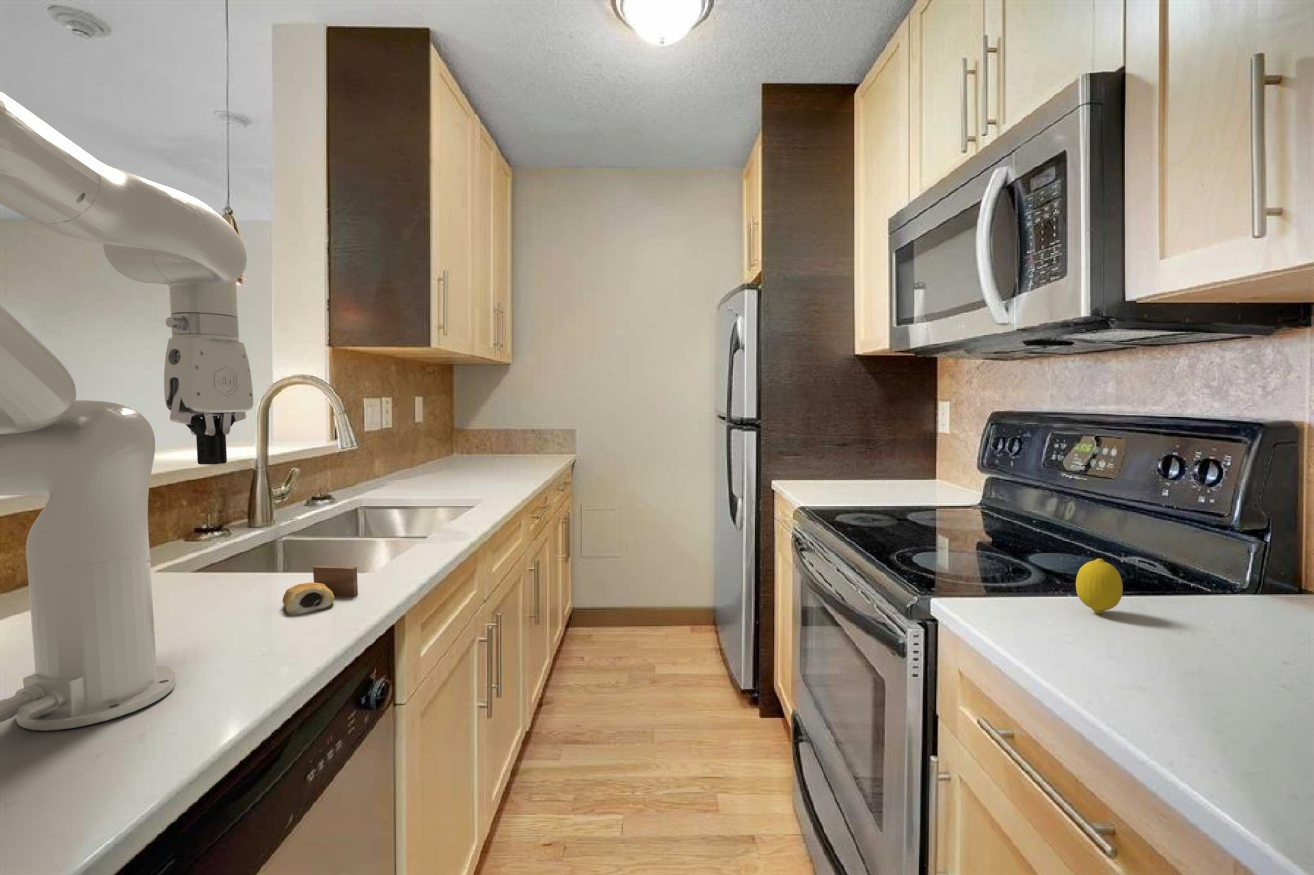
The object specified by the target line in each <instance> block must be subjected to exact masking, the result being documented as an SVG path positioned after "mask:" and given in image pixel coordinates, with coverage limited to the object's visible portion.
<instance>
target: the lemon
mask: <svg viewBox="0 0 1314 875" xmlns="http://www.w3.org/2000/svg"><path fill="white" fill-rule="evenodd" d="M1123 587H1124V586H1123V580H1122V577H1121V575H1120V573H1119V571H1118V570H1117V568H1115V566H1113V565H1112V564H1111V563H1109V562H1106V561H1105V560H1104V559H1103V558H1096V559H1095V560H1091V561H1088V562H1086V563H1085V564H1083V565H1082V566H1081V567H1079V570H1078V572H1077V575H1076V579H1075V590H1076V594H1077V597H1078V598H1079V600H1080V602H1082V603H1083V604H1084V605H1085V606H1086V607H1088V608H1090V609H1091V610H1092V611H1093V612H1094V614H1099V615H1100V614H1102V613H1103V612H1105V611H1108V610H1111V609H1113V608H1115V607H1117V605H1118V604H1119V603H1120V601H1121V599H1122V595H1123V589H1124V588H1123Z"/></svg>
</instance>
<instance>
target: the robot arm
mask: <svg viewBox="0 0 1314 875" xmlns="http://www.w3.org/2000/svg"><path fill="white" fill-rule="evenodd" d="M0 205H1V206H4V207H6V208H8V209H9V210H11V211H13V212H15V213H17V214H19V215H21V216H22V217H24V218H26V219H28V220H30V221H32V222H33V223H35V224H37V225H40V226H41V227H43V228H45V229H46V230H49V231H50V232H53V233H56V234H59V235H61V236H64V237H65V236H66V237H68V238H73V239H77V240H83V241H87V242H93V243H97V244H102V248H103V252H104V253H103V254H104V256H105V258H106V259H107V261H108V263H109V264H110V265H111V267H112V268H113V269H114V270H116V271H117V272H118V273H119V274H121V275H122V276H124V277H125V278H127V279H130V280H133V281H135V282H140V283H142V284H143V283H146V284H156V285H157V284H158V285H167V286H168V288H169V304H170V305H169V306H170V307H169V308H170V317H167V318H166V320H165V325H166V326H167V327H168V328H171V337H170V338H168V339H167V346H166V351H165V360H164V368H163V369H164V372H163V374H164V375H163V389H164V391H163V392H164V394H163V395H164V400H165V401H164V402H165V405H166V408H167V409H168V410H169V411H170V415H169V419H170V421H171V422H174V423H178V424H183V425H185V426H186V427H187V428H188V429H189V430H190V434H192V436H195V439H196V454H197V455H196V456H197V458H196V459H197V463H198V465H199V466H200V465H204V466H205V465H207V466H208V465H209V466H210V465H212V466H214V465H216V466H217V465H224V464H225V465H226V464H227V462H228V458H227V457H228V456H227V436H228V435H229V434H230V433H231V427H232V426H233V425H234V423H237V422H240V421H242V420H245V419H246V418H247V414H246V412H248V411H251V410H252V409H253V407H254V392H253V391H254V390H253V389H254V388H253V379H252V372H251V366H250V362H249V358H248V353H247V349H246V347H245V344H244V342H242V341H241V342H240V334H239V333H240V332H239V317H238V316H239V314H238V313H239V312H238V292H237V291H238V290H237V280H238V279H239V278H241V276H242V275H243V274H244V272H245V270H246V267H247V262H248V259H247V258H248V257H247V251H246V247H245V244H244V243H243V240H242V238H241V237H240V235H239V233H238V232H237V231H236V230H235V228H234V227H233V226H232V225H231V224H230V223H229V222H228V221H227V219H225V218H224V217H223V216H222V215H220V214H218V213H217V211H215V210H213V208H212V207H211V206H209V205H207V204H205V203H204V202H202V201H201V200H199V199H197V198H195V197H193V196H190V195H189V194H187V193H184V192H181V191H180V190H177V189H174V188H171V187H169V186H166V185H163V184H160V183H157V182H154V181H153V180H149V179H147V178H144V177H141V176H139V175H137V174H134V173H131V172H128V171H126V170H123V169H120V168H116V167H114V166H110V165H107V164H105V163H103V162H101V161H99V160H97V158H95V157H94V156H93V155H91V154H90V153H88V152H86V150H84V149H83V148H81V147H80V146H79V145H77V144H75V143H74V142H73V141H71V140H70V139H69V138H67V137H65V136H64V135H63V134H62V133H60V131H59V132H58V131H57V130H56V129H55V128H53V127H52V126H50V124H48V123H46V122H45V121H44V120H42V119H41V118H39V117H38V116H37V115H35V114H34V113H33V112H31V111H30V110H28V109H27V108H25V107H24V106H23V105H21V104H20V103H18V101H16V100H14V99H13V98H11V97H9V95H7V94H5V93H4V92H2V91H1V90H0ZM155 452H156V437H155V433H154V429H153V428H152V426H151V424H150V423H149V421H148V420H147V418H146V417H144V415H142V414H141V413H140V412H138V411H137V410H135V409H133V408H131V407H129V406H127V405H123V404H119V403H116V402H112V401H111V402H110V401H101V400H85V399H84V400H81V399H80V400H78V399H77V390H76V384H75V381H74V379H73V377H72V374H70V372H69V370H67V368H66V367H65V366H64V364H63V363H62V362H61V361H60V359H59V358H58V357H57V356H56V355H55V354H54V353H53V352H52V351H51V350H49V348H48V347H47V346H46V345H44V344H43V343H42V342H41V341H40V340H39V339H38V337H36V336H35V335H33V333H31V331H30V330H28V328H26V327H25V326H24V325H23V324H22V323H21V322H19V320H18V319H17V318H15V316H13V314H11V313H10V312H9V311H8V310H7V309H6V308H5V307H3V306H2V305H1V304H0V497H2V496H3V497H4V496H5V497H7V496H8V497H9V496H49V497H48V500H47V502H46V503H45V505H44V507H43V509H42V510H41V511H40V513H39V514H38V516H37V517H36V519H35V520H34V522H33V523H32V525H31V527H30V529H29V532H28V533H27V537H26V543H25V559H26V566H27V567H26V568H27V580H28V593H29V594H28V596H29V606H30V620H31V621H30V622H31V633H32V645H33V660H34V673H33V674H31V675H28V676H24V677H23V678H22V682H23V688H20V689H18V690H17V691H16V692H15V694H14V695H13V696H11V697H9V698H8V697H7V698H4V699H0V723H3V722H6V721H7V720H10V719H12V718H14V716H16V723H17V724H18V726H20V727H22V728H24V729H27V730H32V731H59V730H67V729H74V728H79V727H84V726H90V725H95V724H98V723H99V724H100V723H103V722H107V721H111V720H113V719H117V718H120V717H122V716H126V715H129V714H131V713H134V712H136V711H139V710H142V709H143V708H146V707H148V706H150V705H151V704H154V703H156V702H158V701H160V700H161V699H162V698H164V697H165V696H166V695H168V694H169V693H170V692H171V691H173V689H174V688H175V686H176V673H175V672H174V670H172V669H171V668H168V667H165V666H159V665H158V664H157V651H156V650H157V648H156V635H155V634H156V633H155V632H156V631H155V620H154V619H155V618H154V616H155V615H154V600H153V588H152V587H153V586H152V583H153V582H152V570H151V568H152V567H151V553H150V552H151V551H150V550H151V549H150V540H149V516H148V515H149V514H148V513H149V509H148V508H149V494H150V492H149V491H150V485H151V484H150V483H151V476H152V470H153V465H154V462H155V461H154V460H155Z"/></svg>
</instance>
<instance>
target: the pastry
mask: <svg viewBox="0 0 1314 875" xmlns="http://www.w3.org/2000/svg"><path fill="white" fill-rule="evenodd" d="M334 601H335V596H334V595H333V592H332V591H331V590H330V589H329V588H328V587H326V585H325V584H322V583H314V582H312V581H311V582H305V583H299V584H295V585H294V586H291V587H290V588H287V589H286V591H285V593H284V594H283V597H282V604H283V605H284V606H285V609H286V611H287V613H288V614H289V615H290V616H291V615H292V616H293V615H294V616H296V615H302V614H303V615H304V614H307V613H311V612H314V611H319V610H324V609H328V608H329V607H331V606H332V605H333V604H334Z"/></svg>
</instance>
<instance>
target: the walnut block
mask: <svg viewBox="0 0 1314 875" xmlns="http://www.w3.org/2000/svg"><path fill="white" fill-rule="evenodd" d="M312 570H313V571H312V575H313V583H322V584H325V585H326V587H328V588H329V589H330V590H331V591H332V592H333V595H334V597H335V596H336V597H337V596H339V597H356V596H358V595H359V592H358V591H359V589H358V588H359V587H358V585H359V584H358V567H357V566H341V565H339V566H337V565H335V566H334V565H333V566H332V565H316V566H313V567H312Z"/></svg>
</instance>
